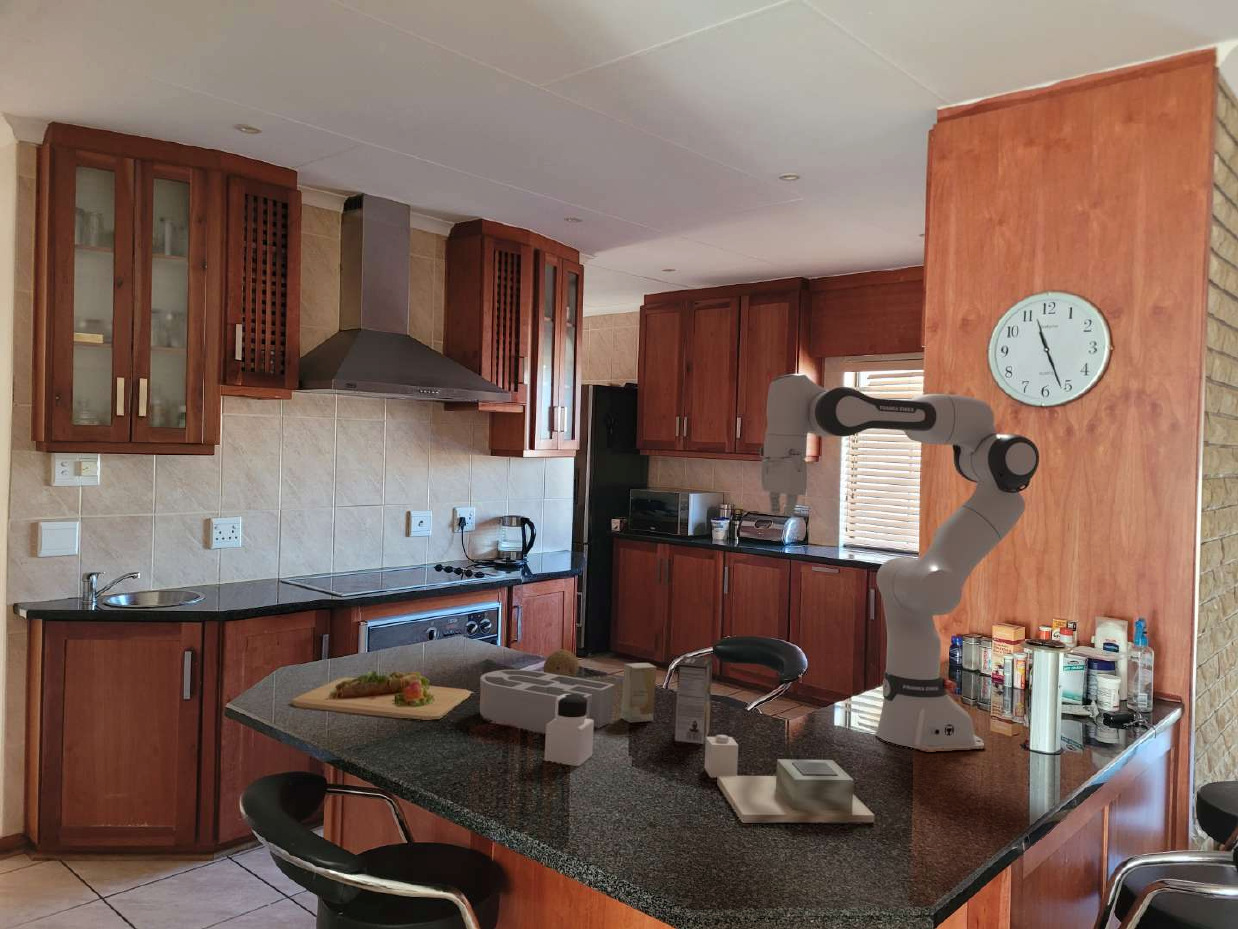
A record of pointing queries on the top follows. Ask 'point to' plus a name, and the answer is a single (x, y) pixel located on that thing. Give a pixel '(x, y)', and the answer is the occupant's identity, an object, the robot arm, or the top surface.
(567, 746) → the medicine bottle
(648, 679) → the skincare box
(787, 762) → the display stand
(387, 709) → the cutting board
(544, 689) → the grey compartment organizer
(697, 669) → the food carton
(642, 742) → the top surface
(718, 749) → the building block
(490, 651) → the top surface
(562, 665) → the natural sponge
